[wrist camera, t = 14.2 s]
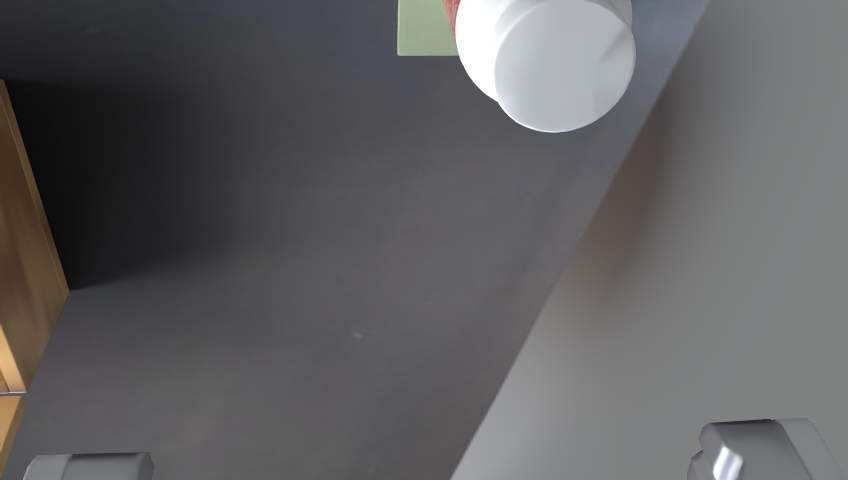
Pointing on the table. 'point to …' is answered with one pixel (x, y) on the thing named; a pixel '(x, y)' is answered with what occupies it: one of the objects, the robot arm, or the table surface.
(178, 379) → the table surface
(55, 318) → the chest
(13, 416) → the chest lid
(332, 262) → the table surface
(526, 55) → the pill bottle
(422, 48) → the mat
